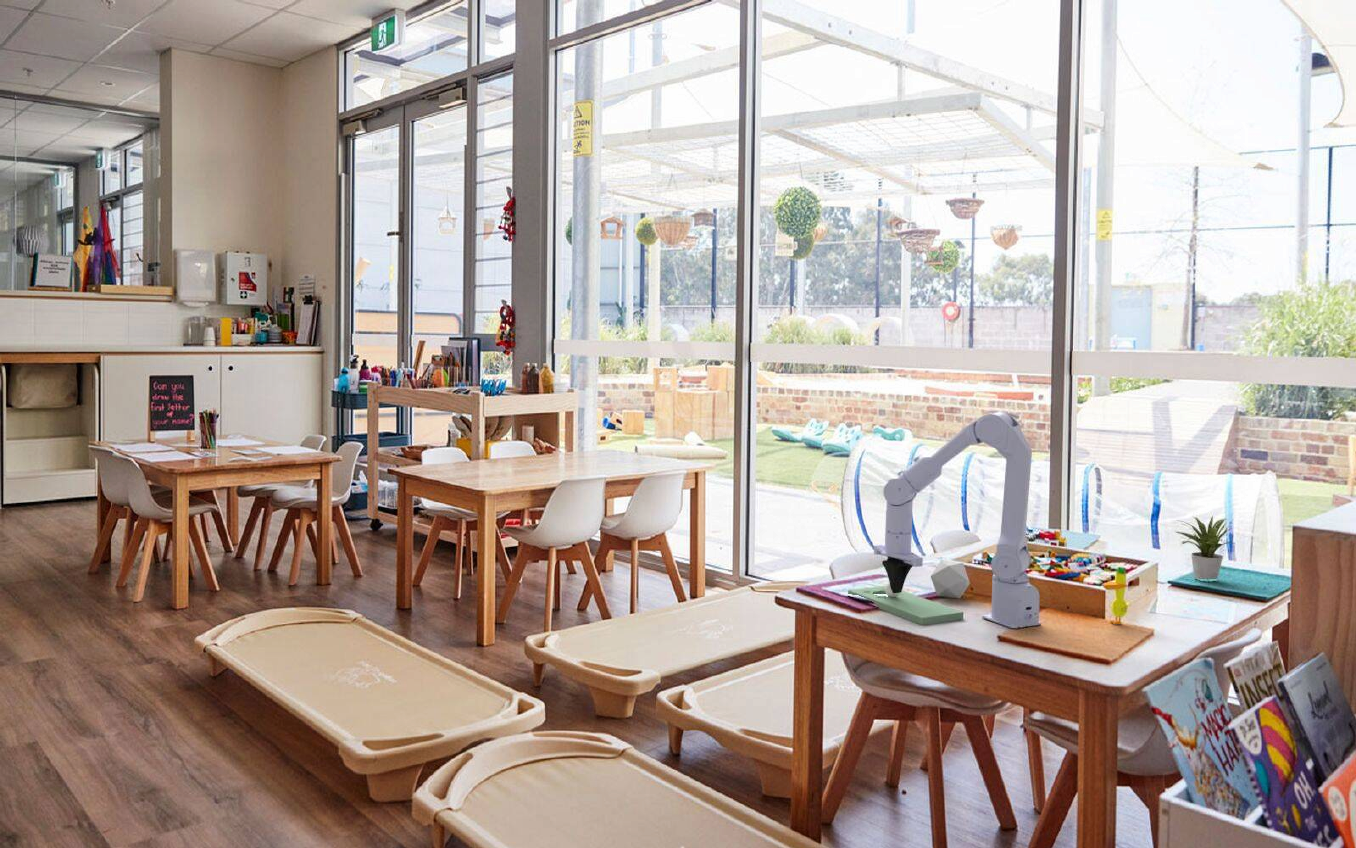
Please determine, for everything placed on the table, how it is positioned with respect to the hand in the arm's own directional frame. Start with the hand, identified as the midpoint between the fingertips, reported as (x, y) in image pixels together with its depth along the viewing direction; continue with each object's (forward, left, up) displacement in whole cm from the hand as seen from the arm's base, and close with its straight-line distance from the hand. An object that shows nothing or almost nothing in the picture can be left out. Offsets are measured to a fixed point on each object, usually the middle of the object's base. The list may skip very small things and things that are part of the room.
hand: (896, 592), depth 240 cm
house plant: (-11, -88, -3) cm, 88 cm away
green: (-2, 0, -3) cm, 4 cm away
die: (+2, -17, -3) cm, 17 cm away
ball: (+1, 0, 0) cm, 1 cm away
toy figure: (-31, -33, -3) cm, 45 cm away
